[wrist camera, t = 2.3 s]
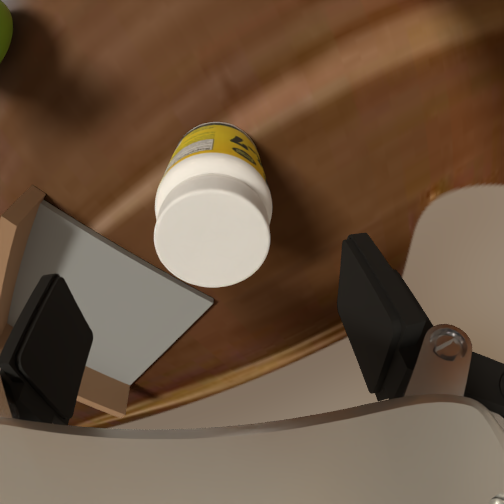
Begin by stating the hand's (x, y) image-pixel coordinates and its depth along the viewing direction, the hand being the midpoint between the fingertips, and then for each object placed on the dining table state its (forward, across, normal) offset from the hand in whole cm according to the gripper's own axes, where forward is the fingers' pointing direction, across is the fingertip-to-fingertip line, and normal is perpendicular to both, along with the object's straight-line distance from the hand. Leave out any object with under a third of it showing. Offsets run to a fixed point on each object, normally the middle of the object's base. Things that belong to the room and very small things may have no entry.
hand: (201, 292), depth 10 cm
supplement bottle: (+10, -1, -1) cm, 10 cm away
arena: (+10, +12, +10) cm, 19 cm away
